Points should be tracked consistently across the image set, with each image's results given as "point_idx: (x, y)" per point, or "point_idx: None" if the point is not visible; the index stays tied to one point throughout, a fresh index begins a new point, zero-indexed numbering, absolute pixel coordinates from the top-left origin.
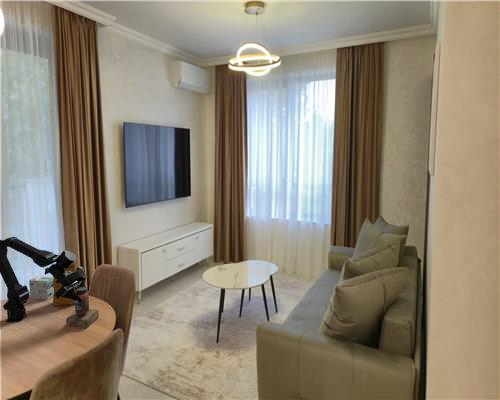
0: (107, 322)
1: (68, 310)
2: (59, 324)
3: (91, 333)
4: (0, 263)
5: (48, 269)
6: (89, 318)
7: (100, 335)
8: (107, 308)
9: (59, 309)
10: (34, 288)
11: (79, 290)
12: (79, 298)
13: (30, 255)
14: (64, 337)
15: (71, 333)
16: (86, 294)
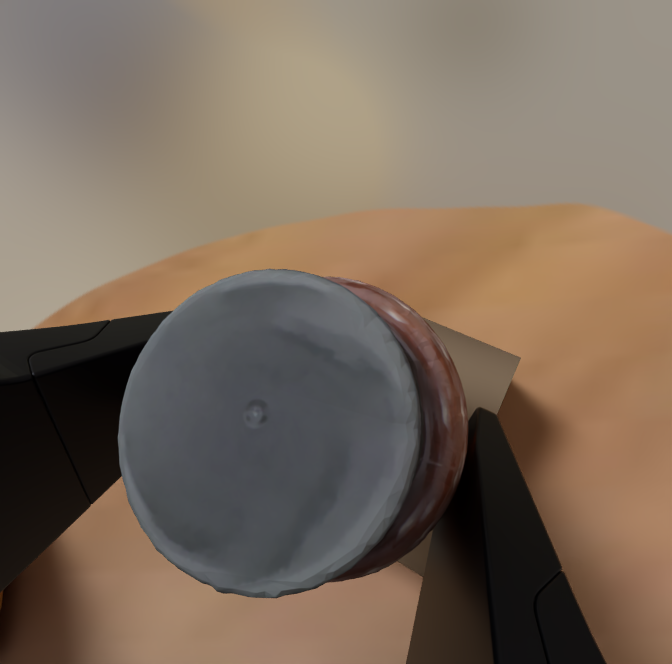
0: (438, 233)
1: (111, 537)
2: (352, 609)
3: (612, 332)
4: None
5: None
6: (477, 342)
7: (669, 262)
8: (200, 254)
9: (60, 614)
10: None
11: (408, 479)
12: (503, 452)
13: None
14: (644, 557)
15: (571, 496)
16: (394, 298)
